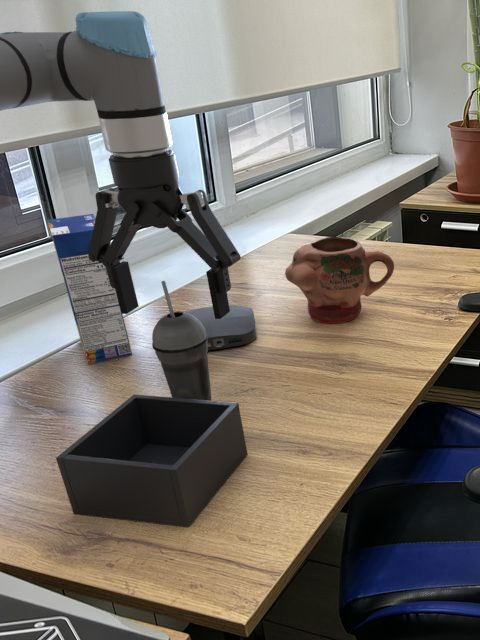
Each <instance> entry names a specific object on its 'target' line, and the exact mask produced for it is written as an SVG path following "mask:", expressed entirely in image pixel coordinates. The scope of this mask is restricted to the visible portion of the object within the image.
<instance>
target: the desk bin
mask: <svg viewBox="0 0 480 640" xmlns="http://www.w3.org/2000/svg"><path fill="white" fill-rule="evenodd" d="M240 409H241V408H240V404H239V402H231V401H218V400H212V401H208V400H196V399H184V398H172V396H171V397H170V396H160V395H159V396H158V395H146V394H132V395H131V396H130V397H128V398H127V399H126V400H125V401H124V402H122V403H121V404H120V405H119V406H117V408H115V409H114V410H113V411H111V412H110V413H109V414H108V415H107V416H105V417H103V419H101V420H100V421H99V422H98V423H97V424H95V425H94V426H93V427H92V428H90V430H88V431H87V432H86V433H84V434H83V435H82V436H81V437H79V438H78V439H77V440H76V441H75V442H73V443H72V444H71V445H70V446H69V447H67V448H66V449H65V450H63V451H62V452H61V453H60V454H59V455H57V456H56V457H55V460H56V463H57V466H58V469H59V473H60V475H61V480H62V482H63V485H64V488H65V492H66V494H67V497H68V501H69V504H70V508H71V510H72V513H73V514H74V515H81V516H90V517H99V518H107V519H115V520H125V521H133V522H141V523H149V524H150V523H151V524H159V525H168V526H176V527H183V528H190V527H191V526H192V524H193V523H194V522H195V521H196V519H197V518H198V517H199V515H201V513H202V512H203V511H204V509H206V507H207V505H209V503H210V502H211V501H212V500H213V498H214V497H215V496H216V494H217V493H218V492H219V491H220V490H221V488H222V487H223V486H224V485H225V483H226V482H227V481H228V480H229V478H230V477H231V476H232V475H233V474H234V472H235V471H236V470H237V469H238V467H239V466H240V465H241V463H243V462H244V460H245V458H247V456H248V449H247V443H246V437H245V432H244V427H243V421H242V416H241V410H240Z"/></svg>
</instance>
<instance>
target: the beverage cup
mask: <svg viewBox="0 0 480 640" xmlns="http://www.w3.org/2000/svg"><path fill="white" fill-rule="evenodd" d="M160 283H161V286H162V289H163V293H164V297H165V300H166V304H167V308H168V312H169V313H166V314H165V315H163V316H162V317H161V318H160V319H159V320H157V323H156V324H155V326H154V327H153V330H152V334H151V335H152V336H151V338H152V343H151V345H152V346H151V347H152V349H153V350H154V353H155V355H156V357H157V359H158V361H159V362H160V365H161V368H162V371H163V373H164V377H165V379H166V382H167V386H168V389H169V392H170V395H171V397H172V398H184V399H196V400H208V401H213V399H212V389H211V381H210V369H209V360H208V359H209V358H208V351H209V350H208V341H207V340H208V336H207V333H206V332H205V329H204V327H203V325H202V323H201V322H200V321H199V320H198V319H197V318H196V317H194V316H193V315H191V314H189V313H185V312H186V311H174V307H173V304H172V301H171V297H170V293H169V290H168V286H167V282H166V280H162V281H161V282H160Z"/></svg>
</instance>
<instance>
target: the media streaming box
mask: <svg viewBox="0 0 480 640" xmlns="http://www.w3.org/2000/svg"><path fill="white" fill-rule="evenodd" d="M229 308H230V312H228V313H227V314H226V315H225V316H224V317H222V318H221V319H215V316H214V310H213V305H211V306H205V307H200V308H196V309H191V310H187V311H184V312H185V313H189V314H191V315H193V316H194V317H196V318H197V319H198V320H199V321H200V322H201V323H202V325H203V327H204V329H205V332H206V333H207V336H208V340H207V341H208V351H212V350H218V349H219V350H220V349H225V348H226V349H227V348H231V347H232V348H233V347H239V346H243V345H246V344H248V343H251V342H252V341H254V340H255V339H256V338H257V325H256V320H255V314H254V310H253V308H251V307H249V306H245V305H238V304H237V305H235V304H231V305H230V304H229Z"/></svg>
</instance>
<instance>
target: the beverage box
mask: <svg viewBox="0 0 480 640" xmlns="http://www.w3.org/2000/svg"><path fill="white" fill-rule="evenodd" d="M95 219H96V215H94V213H88V214H82V215H81V214H80V215H73V216H67V217H58V218H51V219H46V222H47V224H48V228H49V232H50V235H51V238H52V242H53V245H54V249H55V253H56V257H57V260H58V264H59V268H60V272H61V274H62V278H63V282H64V286H65V289H66V293H67V296H68V301H69V304H70V308H71V311H72V314H73V318H74V321H75V325H76V329H77V332H78V336H79V340H80V343H81V346H82V350H83V354H84V356H85V360H86V363H87V365H93V364H99V363H102V362H107V361H111V360H116V359H120V358H125V357H129V356H132V355H133V352H132V348H131V344H130V339H129V335H128V331H127V327H126V323H125V319H124V314H122V312H121V308H120V304H119V300H118V296H117V292H116V288H112V287H111V285H110V282H109V277H108V274H107V270H106V267H105V266H104V265H103V264H102V263H101V262H98V261H95V262H93V261H91V260H90V259H89V258H88V254H89V249H90V244H91V239H92V234H93V229H94V224H95Z"/></svg>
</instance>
